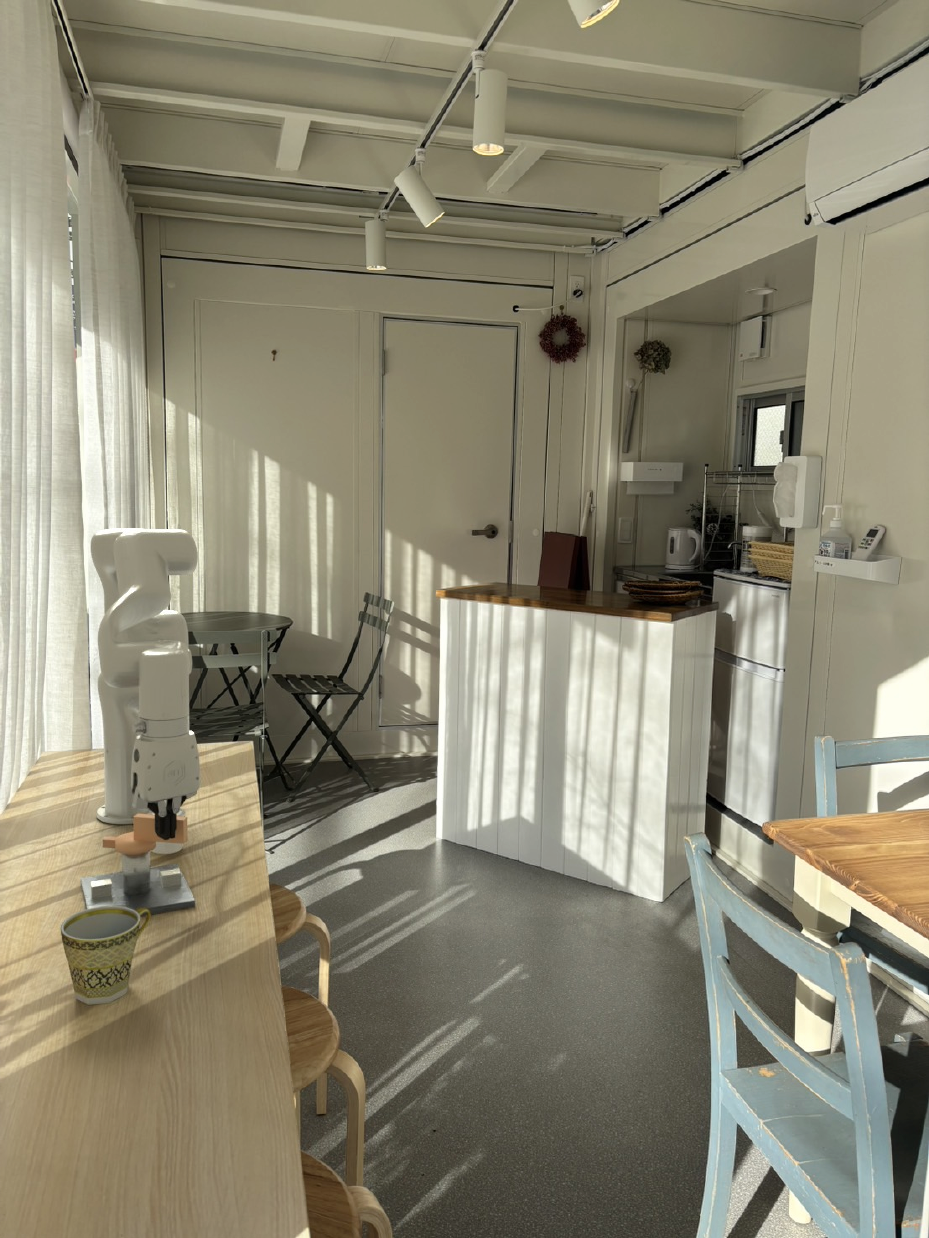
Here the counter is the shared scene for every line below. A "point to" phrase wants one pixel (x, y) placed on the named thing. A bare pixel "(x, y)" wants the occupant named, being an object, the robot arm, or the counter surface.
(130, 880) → the grey plate with posts
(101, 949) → the ceramic cup
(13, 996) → the counter surface
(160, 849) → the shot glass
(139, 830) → the orange lever handle
